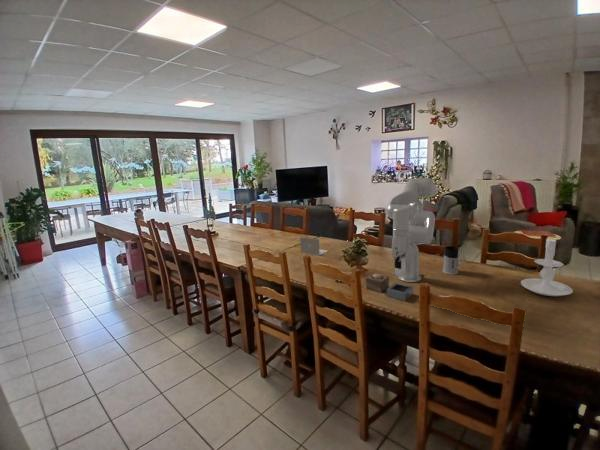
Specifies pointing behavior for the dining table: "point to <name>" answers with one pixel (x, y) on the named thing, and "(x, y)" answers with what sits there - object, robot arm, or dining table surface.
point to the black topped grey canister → (451, 260)
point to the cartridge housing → (400, 291)
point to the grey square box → (377, 283)
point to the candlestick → (547, 275)
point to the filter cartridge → (403, 266)
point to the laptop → (311, 246)
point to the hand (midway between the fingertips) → (400, 266)
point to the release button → (377, 276)
